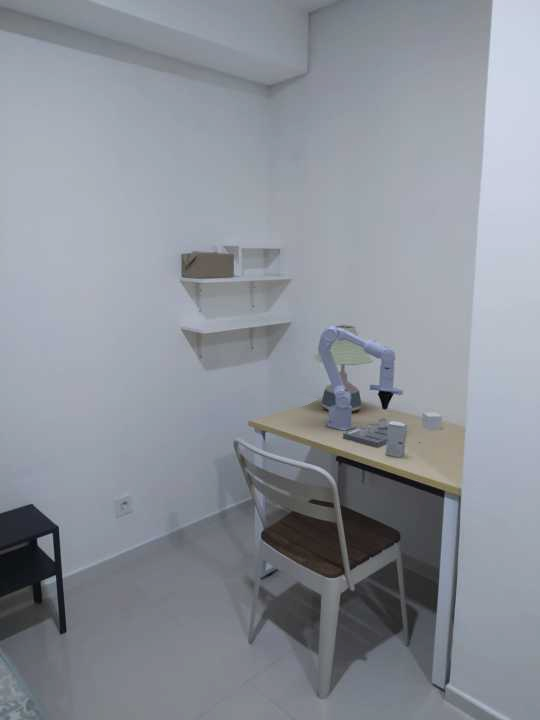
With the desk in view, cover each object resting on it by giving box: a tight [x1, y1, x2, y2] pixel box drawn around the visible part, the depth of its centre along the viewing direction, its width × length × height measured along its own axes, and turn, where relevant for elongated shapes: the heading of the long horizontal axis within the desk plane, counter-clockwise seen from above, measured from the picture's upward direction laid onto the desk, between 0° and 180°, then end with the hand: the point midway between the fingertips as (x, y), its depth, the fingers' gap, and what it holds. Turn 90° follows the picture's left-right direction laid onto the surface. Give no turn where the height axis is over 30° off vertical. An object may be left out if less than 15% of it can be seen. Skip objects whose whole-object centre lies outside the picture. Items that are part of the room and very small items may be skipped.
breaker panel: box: [342, 422, 408, 449], centre depth 224 cm, size 16×22×5 cm
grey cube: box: [421, 412, 443, 431], centre depth 239 cm, size 6×6×6 cm
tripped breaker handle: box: [378, 417, 388, 428], centre depth 230 cm, size 2×3×3 cm, turn 137°
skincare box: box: [385, 420, 408, 458], centre depth 203 cm, size 6×4×12 cm
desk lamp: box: [314, 322, 374, 413], centre depth 263 cm, size 26×28×42 cm
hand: (384, 408), depth 232 cm, fingers closed
